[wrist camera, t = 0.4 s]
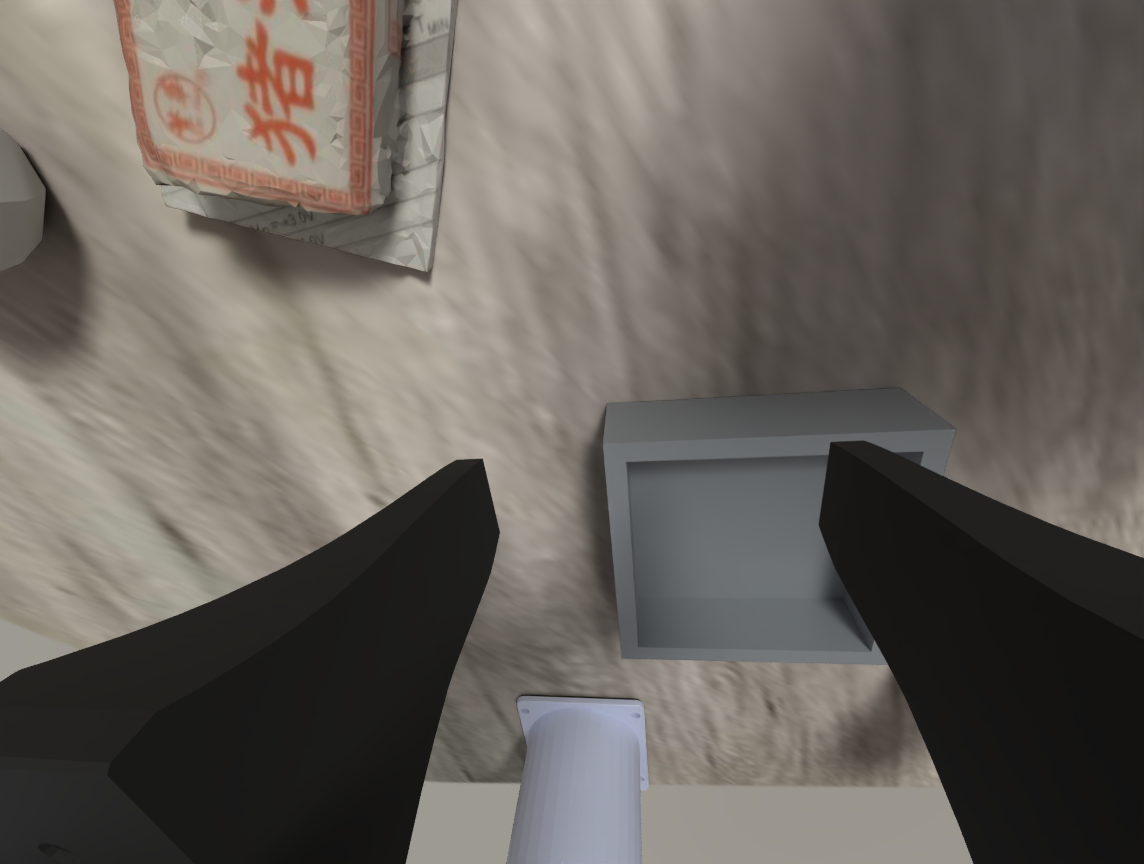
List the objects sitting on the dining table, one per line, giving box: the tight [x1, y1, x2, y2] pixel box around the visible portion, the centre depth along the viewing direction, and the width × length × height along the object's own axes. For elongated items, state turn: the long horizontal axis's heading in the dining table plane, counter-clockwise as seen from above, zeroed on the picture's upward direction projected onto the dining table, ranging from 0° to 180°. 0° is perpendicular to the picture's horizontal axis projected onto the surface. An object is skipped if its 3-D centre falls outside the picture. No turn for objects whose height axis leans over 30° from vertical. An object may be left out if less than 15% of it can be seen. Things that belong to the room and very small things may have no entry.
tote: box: [603, 388, 956, 665], centre depth 20 cm, size 12×12×4 cm
